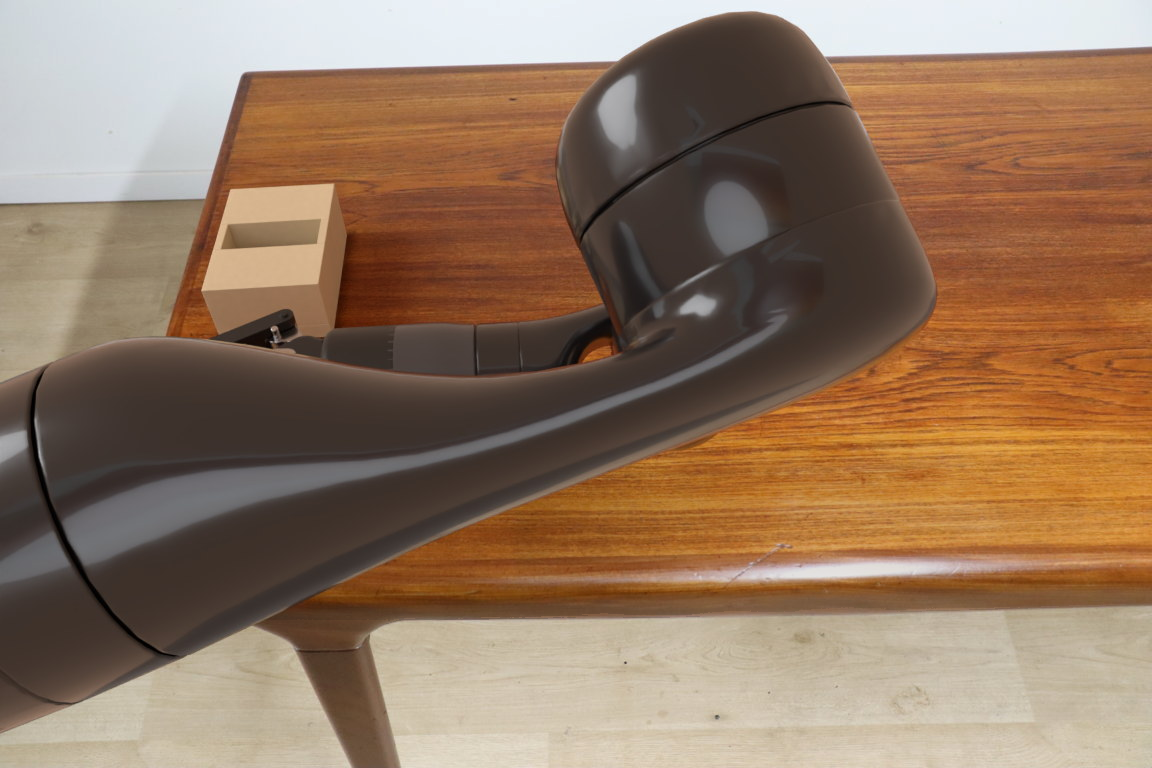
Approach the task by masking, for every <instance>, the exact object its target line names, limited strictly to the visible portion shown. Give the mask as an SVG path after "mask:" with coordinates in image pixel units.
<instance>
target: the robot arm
mask: <svg viewBox="0 0 1152 768" xmlns="http://www.w3.org/2000/svg"><path fill="white" fill-rule="evenodd" d="M554 157H555V159H554V169H555V180H556V185H557V190H558V194H559V200H560V202H561V207H562V210H563V213H564V217H565V220H566V222H567V226H568V228H569V230H570V233H571V235H572V238H573V240H574V242H575V245H576V247H577V248H578V250H579V251H580V254H581V256H582V259H583V262H584V263H585V266H586V268H587V270H588V272H589V274H590V276H591V279H592V281H593V283H594V286H595V288H596V290H597V292H598V295H599V297H600V299H601V301H602V302H601V303H597V304H595V305H591V306H590V307H585V308H582V309H579V310H575V311H570V312H567V313H563V314H558V315H554V316H550V317H543V318H538V319H528V320H527V319H526V320H513V321H512V320H511V321H497V322H495V321H494V322H483V323H482V322H480V323H477V324H475V323H460V322H459V323H458V322H443V321H437V322H435V321H433V322H431V321H430V322H417V323H403V324H385V325H371V326H370V325H369V326H368V325H367V326H354V327H337V328H334V329H332V330H331V331H329V332H328V333H327V334H326V336H325V337H323V338H320V337H318V338H316V337H313V336H307V335H306V336H303V335H302V333H301V332H300V330H299V329H298V326H297V323H296V320H295V317H294V314H293V311H292V310H290V309H282V310H279V311H277V312H274V313H272V314H269V315H267V316H264V317H262V318H259V319H257V320H254V321H252V322H249V323H247V324H244V325H242V326H239V327H237V328H234V329H232V330H230V331H227V332H225V333H222V334H220V335H219V334H218V335H215V336H212V337H209V338H208V339H207V338H201V337H190V336H189V337H187V336H175V335H173V336H172V335H171V336H170V335H169V336H167V335H165V336H164V335H161V336H160V335H149V336H138V337H137V336H136V337H126V338H120V339H116V340H112V341H107V342H103V343H100V344H95V345H93V346H92V345H91V346H89V347H86V348H84V349H81V350H79V351H76V352H73V353H71V354H68V355H65V356H63V357H59V358H57V359H55V360H54V361H50V362H48V363H46V364H42V365H40V366H38V367H35V368H32V369H29V370H28V371H26V372H23V373H21V374H18V375H15V376H13V377H11V378H8V379H5V380H3V381H0V734H3V733H5V732H9V731H11V730H13V729H16V728H19V727H21V726H23V725H26V724H29V723H31V722H34V721H36V720H40V719H41V718H44V717H46V716H50V715H51V714H54V713H57V712H60V711H63V710H64V709H67V708H70V707H71V706H72V707H73V706H75V705H77V704H79V703H80V704H81V703H83V702H84V701H88V700H90V699H91V698H92V699H93V698H94V697H96V696H98V695H101V694H103V693H106V692H108V691H111V690H113V689H115V688H117V687H120V686H121V685H124V684H127V683H129V682H131V681H134V680H135V679H138V678H140V677H143V676H145V675H147V674H150V673H152V672H154V671H156V670H158V669H160V668H163V667H166V666H168V665H171V664H173V663H175V662H177V661H179V660H181V659H184V658H186V657H188V656H191V655H193V654H196V653H198V652H199V651H201V650H204V649H206V648H208V647H210V646H213V645H214V644H217V643H218V642H221V641H223V640H225V639H227V638H230V637H232V636H233V635H236V634H238V633H241V632H242V631H243V630H246V629H248V628H251V627H252V626H254V625H257V624H259V623H261V622H263V621H266V620H267V619H269V618H271V617H273V616H277V615H278V614H280V613H282V612H284V611H286V610H288V609H291V608H292V607H295V606H297V605H299V604H301V603H303V602H305V601H307V600H310V599H311V598H313V597H316V596H318V595H320V594H322V593H325V592H326V591H329V590H331V589H333V588H336V587H337V586H339V585H342V584H344V583H345V582H348V581H351V580H353V578H357V577H358V576H360V575H361V576H362V575H363V574H365V573H366V572H368V571H371V570H373V569H375V568H377V567H379V566H382V565H384V564H386V563H388V562H391V561H393V560H395V559H397V558H400V557H401V556H403V555H406V554H408V553H410V552H412V551H415V550H417V549H419V548H422V547H423V546H425V545H428V544H430V543H433V542H435V541H437V540H440V539H442V538H444V537H447V536H449V535H451V534H454V533H456V532H458V531H460V530H462V529H466V528H469V527H470V526H472V525H473V526H474V525H475V524H477V523H481V522H483V521H485V520H488V519H490V518H493V517H496V516H498V515H500V514H503V513H505V512H508V511H512V510H514V509H516V508H519V507H522V506H524V505H527V504H530V503H532V502H535V501H537V500H540V499H544V498H546V497H548V496H551V495H554V494H556V493H559V492H561V491H564V490H566V489H569V488H572V487H575V486H578V485H580V484H583V483H585V482H588V481H591V480H594V479H596V478H600V477H601V476H605V475H607V474H610V473H612V472H615V471H618V470H622V469H623V468H626V467H629V466H632V465H635V464H638V463H640V462H643V461H645V460H648V459H650V458H653V457H656V456H658V455H661V454H665V453H671V452H673V453H675V452H681V451H687V450H690V449H695V448H697V447H699V446H701V445H703V444H705V443H707V442H709V441H710V440H712V439H713V438H715V437H716V436H717V435H718V434H720V433H721V432H724V431H726V430H730V429H732V428H735V427H738V426H741V425H743V424H746V423H749V422H751V421H754V420H757V419H759V418H761V417H765V416H767V415H769V414H772V413H775V412H777V411H780V410H783V409H786V408H788V407H790V406H793V405H795V404H797V403H800V402H802V401H805V400H807V399H809V398H812V397H814V396H817V395H819V394H822V393H824V392H826V391H828V390H830V389H832V388H835V387H836V386H838V385H839V386H840V385H841V384H843V383H845V382H847V381H849V380H852V379H854V378H856V377H857V376H860V375H861V374H863V373H864V372H867V371H868V370H870V369H872V368H874V367H875V366H878V365H879V364H881V363H882V362H884V361H886V360H887V359H889V358H890V357H892V356H893V355H894V354H896V353H897V352H899V351H900V350H901V349H903V348H904V347H905V346H907V345H908V344H909V343H910V342H911V341H913V340H914V339H915V338H916V337H917V336H919V334H920V333H921V332H922V331H923V330H924V328H926V326H927V325H928V324H929V322H930V320H931V319H932V317H933V314H934V313H935V309H936V306H937V301H938V295H939V294H938V284H937V281H936V280H937V279H936V277H935V274H934V271H933V267H932V265H931V262H930V260H929V257H928V255H927V252H926V249H925V248H924V244H923V243H922V241H921V238H920V237H919V234H918V233H917V232H918V231H916V228H915V226H914V224H913V221H912V220H911V217H910V215H909V213H908V212H907V210H906V208H905V207H904V205H903V204H902V202H901V197H900V195H899V193H898V190H897V189H896V187H895V185H894V183H893V181H892V179H891V177H890V175H889V173H888V171H887V169H886V167H885V164H884V163H883V161H882V159H881V158H880V155H879V153H878V151H877V149H876V147H875V145H874V143H873V142H872V139H871V137H870V135H869V133H868V131H867V129H866V127H865V125H864V124H863V122H862V119H861V118H860V115H859V113H858V111H856V108H855V106H854V104H853V102H852V100H851V98H850V96H849V94H848V91H847V90H846V88H845V86H844V85H843V83H842V80H841V79H840V77H839V75H838V74H837V72H836V71H835V70H834V67H833V66H832V65H831V62H829V60H828V59H827V58H826V57H825V56H824V53H823V52H822V51H821V50H820V48H819V47H818V46H817V44H815V42H814V41H813V40H812V38H810V37H809V36H808V34H807V33H806V32H805V31H804V30H803V29H802V28H800V27H799V26H798V25H796V24H794V23H792V22H791V21H789V20H787V19H785V18H784V17H782V16H779V15H778V14H777V15H776V14H772V13H767V12H762V11H756V10H755V11H753V10H745V11H744V10H743V11H728V12H723V13H719V14H714V15H710V16H706V17H702V18H700V19H697V20H695V21H692V22H689V23H686V24H684V25H681V26H679V27H678V26H677V27H675V28H673V29H671V30H668V31H666V32H664V33H662V34H660V35H658V36H655V37H654V38H652V39H650V40H648V41H646V42H645V43H643V44H641V45H640V46H638V47H636V48H635V49H633V50H632V51H630V52H629V53H626V55H624V56H622V57H621V58H619V59H618V60H617V61H616V62H615V63H613V64H612V65H611V66H610V67H608V68H607V69H606V70H605V71H604V72H602V73H601V74H600V75H599V76H598V77H597V78H596V79H595V80H594V81H593V82H592V83H591V84H590V85H589V86H588V87H587V88H586V90H585V91H584V92H583V93H581V95H580V97H579V99H578V100H577V101H576V103H575V105H574V106H573V107H572V109H571V110H570V111H569V114H568V115H567V117H566V119H565V121H564V124H563V125H562V128H561V130H560V134H559V136H558V138H557V144H556V149H555V156H554ZM604 347H609V348H610V351H611V352H610V355H607V356H603V357H601V358H597V359H594V360H590V361H585V359H586V358H587V357H588V356H589V355H590V354H592V352H594V351H596V350H598V349H602V348H604ZM584 361H585V362H584Z"/></svg>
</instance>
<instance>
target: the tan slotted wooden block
mask: <svg viewBox="0 0 1152 768" xmlns="http://www.w3.org/2000/svg"><path fill="white" fill-rule="evenodd" d="M336 187H337V186H336V184H335V183H319V184H301V185H300V184H299V185H284V186H283V185H281V186H265V187H264V186H263V187H244V188H231V189H230V190H229V192H228V193H229V194H228V196H227V201H226V204H225V208H224V211H223V214H222V218H221V221H220V225H219V228H218V232H217V235H216V239H215V243H214V245H213V249H212V252H211V255H210V259H209V263H208V266H207V269H206V273H205V276H204V278H203V279H204V280H203V283H202V287H201V294H202V296H203V299H204V302H205V304H206V307H207V309H208V312H209V314H210V317H211V318H212V322H213V324H214V327H215V329H216V331H217V334H218V335H220V334H222V333H225V332H227V331H230V330H232V329H234V328H237V327H239V326H242V325H244V324H247V323H249V322H252V321H254V320H257V319H259V318H262V317H264V316H267V315H269V314H272V313H274V312H277V311H279V310H282V309H290V310H292V311H293V314H294V317H295V320H296V323H297V326H298V329H299V330H300V332H301V333H302V335H303V336H306V335H307V336H313V337H316V338H325V336H326V334H327V333H328V332H329V331H331V330H332V329H335V326H336V317H337V310H338V304H339V303H338V302H339V296H340V288H341V283H342V281H341V280H342V273H343V267H344V260H345V251H346V246H347V238H348V233H347V230H346V226H345V222H344V217H343V213H342V208H341V205H340V199H339V197H338V192H337V188H336Z"/></svg>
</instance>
